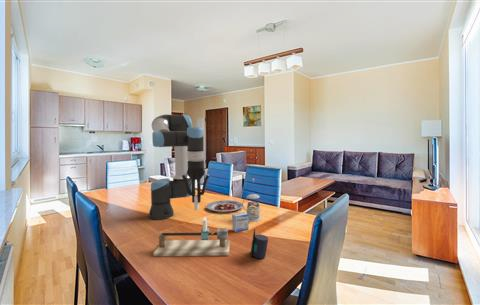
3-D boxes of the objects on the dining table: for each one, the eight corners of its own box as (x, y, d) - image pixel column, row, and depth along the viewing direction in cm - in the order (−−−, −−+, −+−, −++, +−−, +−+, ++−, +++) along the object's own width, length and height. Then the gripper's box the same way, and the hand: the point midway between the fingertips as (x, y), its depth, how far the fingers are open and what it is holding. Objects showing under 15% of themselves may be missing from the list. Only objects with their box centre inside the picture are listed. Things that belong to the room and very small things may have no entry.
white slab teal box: (201, 240, 105) (200, 220, 105) (202, 236, 110) (202, 217, 109) (208, 240, 105) (207, 220, 105) (209, 236, 110) (208, 217, 109)
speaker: (246, 256, 100) (248, 232, 99) (250, 251, 105) (253, 228, 105) (263, 262, 97) (266, 237, 96) (267, 256, 102) (270, 232, 102)
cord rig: (153, 256, 102) (152, 236, 101) (162, 243, 114) (162, 225, 113) (228, 255, 102) (228, 235, 101) (229, 242, 114) (229, 224, 113)
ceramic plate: (248, 212, 160) (248, 207, 160) (209, 216, 153) (209, 211, 153) (237, 201, 185) (237, 198, 184) (204, 205, 177) (204, 201, 177)
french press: (260, 222, 141) (260, 180, 139) (241, 220, 143) (240, 179, 141) (262, 216, 150) (262, 177, 148) (244, 215, 153) (243, 176, 151)
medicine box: (235, 232, 126) (235, 216, 125) (232, 229, 130) (231, 214, 129) (248, 229, 130) (248, 214, 129) (244, 226, 133) (244, 211, 133)
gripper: (179, 161, 108) (181, 211, 111) (208, 161, 108) (209, 211, 110) (183, 159, 116) (184, 206, 118) (210, 159, 116) (211, 206, 118)
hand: (196, 208), depth 114 cm, fingers closed
